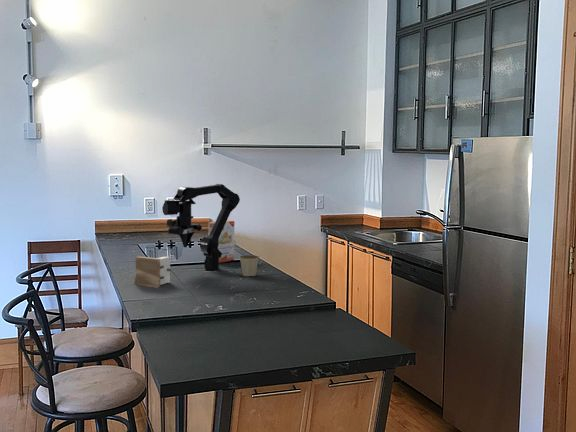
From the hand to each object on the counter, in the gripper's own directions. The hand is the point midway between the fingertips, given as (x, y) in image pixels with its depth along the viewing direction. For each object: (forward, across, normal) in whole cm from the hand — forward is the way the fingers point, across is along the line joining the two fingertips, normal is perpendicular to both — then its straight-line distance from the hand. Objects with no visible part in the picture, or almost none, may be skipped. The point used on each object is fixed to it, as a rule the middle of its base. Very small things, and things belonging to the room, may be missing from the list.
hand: (185, 247), depth 301 cm
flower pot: (+12, -10, +29) cm, 33 cm away
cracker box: (+12, -33, -1) cm, 35 cm away
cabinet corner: (+12, +24, +2) cm, 27 cm away
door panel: (+12, +26, +6) cm, 29 cm away
